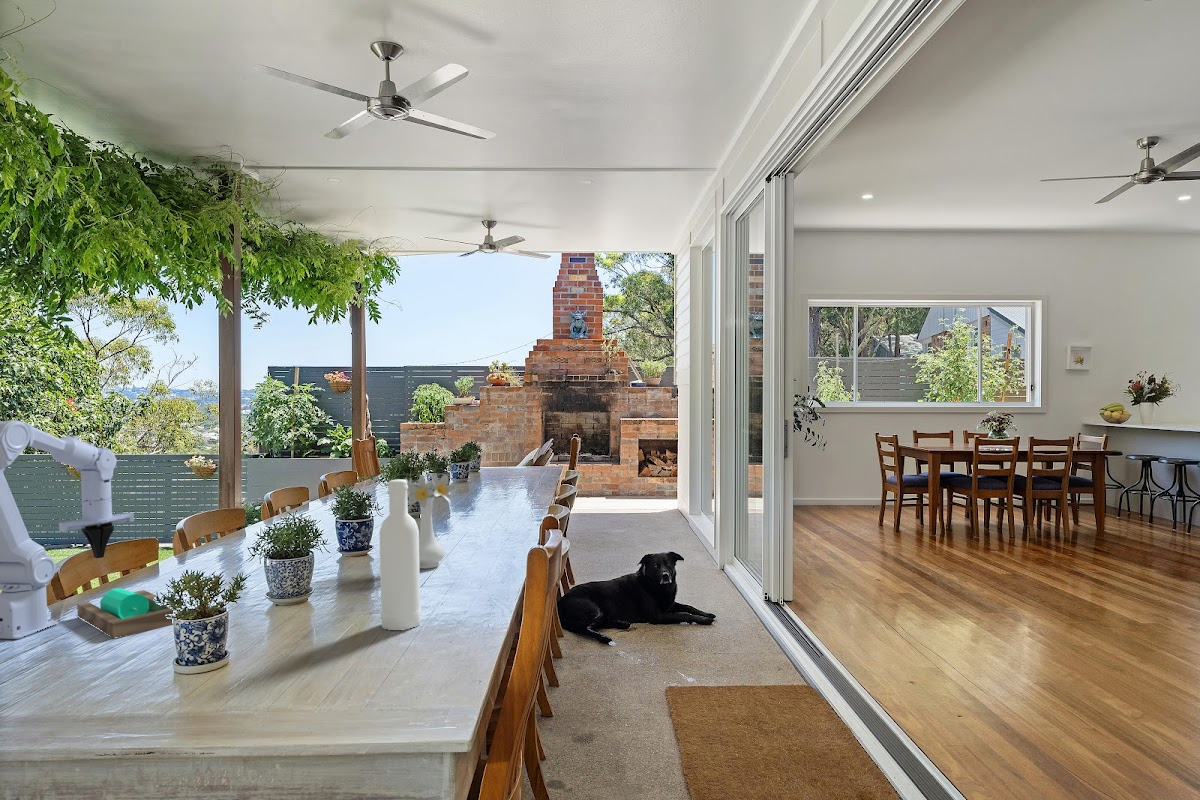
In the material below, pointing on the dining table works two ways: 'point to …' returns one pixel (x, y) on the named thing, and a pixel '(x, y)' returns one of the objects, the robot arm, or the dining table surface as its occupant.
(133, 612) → the candle
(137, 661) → the dining table surface
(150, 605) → the u rest
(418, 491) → the flower vase
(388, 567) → the bottle
